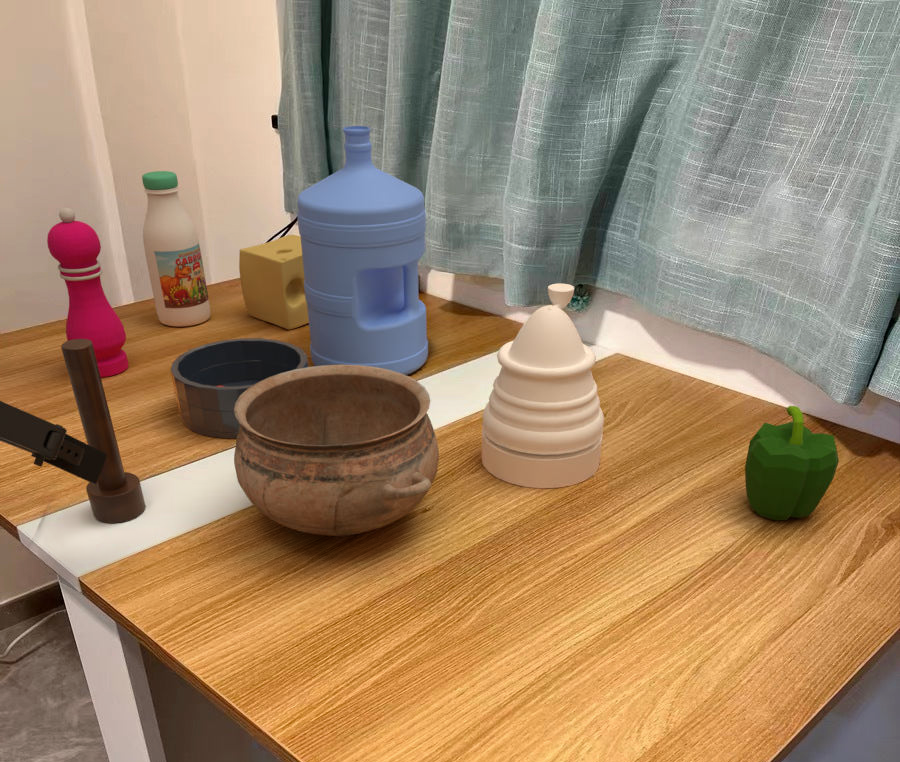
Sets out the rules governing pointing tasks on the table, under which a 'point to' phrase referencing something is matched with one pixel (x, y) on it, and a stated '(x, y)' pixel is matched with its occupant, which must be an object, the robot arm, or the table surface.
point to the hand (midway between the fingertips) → (42, 451)
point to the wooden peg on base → (101, 438)
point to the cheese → (275, 282)
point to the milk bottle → (173, 254)
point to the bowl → (226, 379)
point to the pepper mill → (87, 292)
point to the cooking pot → (335, 448)
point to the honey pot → (544, 404)
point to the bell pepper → (789, 468)
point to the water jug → (363, 264)
